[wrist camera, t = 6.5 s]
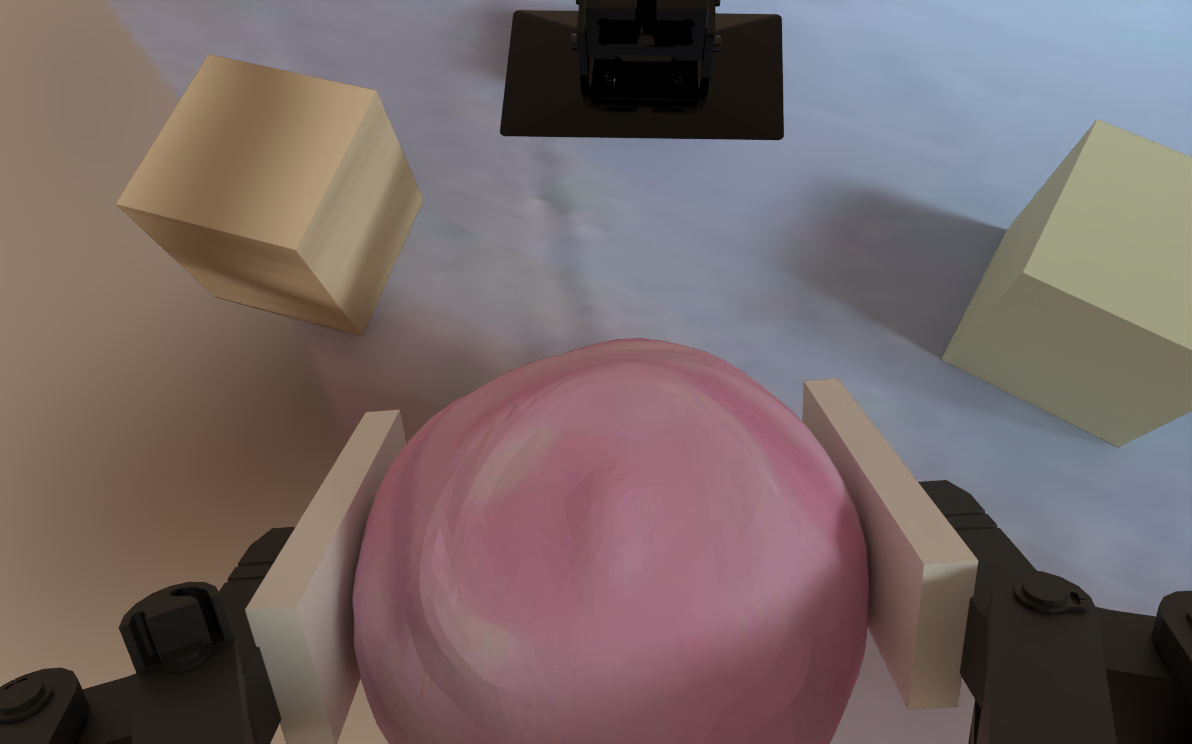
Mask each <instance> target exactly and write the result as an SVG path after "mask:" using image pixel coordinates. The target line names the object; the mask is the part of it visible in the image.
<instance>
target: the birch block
mask: <svg viewBox="0 0 1192 744" xmlns="http://www.w3.org/2000/svg"><path fill="white" fill-rule="evenodd" d="M423 201H424V200H423V197H422V195H421V193H420V190H419V188H418V186H417V183H416V181H415V179H414V176H413V174H412V172H411V169H410V167H409V165H408V162H407V160H406V158H405V155H404V153H403V151H402V148H401V146H400V144H399V141H398V139H397V137H396V134H395V132H394V130H393V127H392V125H391V123H390V120H389V118H388V116H387V113H386V111H385V109H384V106H383V104H382V102H381V99H380V97H379V95H378V92H377V91H376V90H371V89H367V88H362V87H357V86H353V85H348V84H344V83H339V82H334V81H330V80H325V79H321V78H316V77H311V76H307V75H302V74H297V73H293V72H288V71H284V70H279V69H274V68H270V67H265V66H261V65H256V64H251V63H247V62H242V61H238V60H233V59H228V58H224V57H219V56H214V55H210V54H209V55H208V56H207V58H206V59H205V61H204V63H203V64H202V66H201V67H200V69H199V71H198V72H197V74H196V76H195V77H194V79H193V80H192V82H191V84H190V85H189V87H188V88H187V90H186V92H185V93H184V95H183V96H182V98H181V100H180V101H179V103H178V104H177V106H176V108H175V109H174V111H173V112H172V114H171V116H170V117H169V119H168V120H167V122H166V124H165V125H164V127H163V129H162V130H161V132H160V133H159V135H158V137H157V138H156V140H155V142H154V143H153V145H152V146H151V148H150V149H149V151H148V153H147V154H146V156H145V157H144V159H143V161H142V162H141V164H140V165H139V167H138V169H137V170H136V172H135V173H134V175H133V177H132V178H131V180H130V182H129V183H128V185H127V186H126V188H125V190H124V191H123V193H122V195H121V196H120V198H119V199H118V201H117V202H116V205H117V206H118V207H119V208H120V209H121V210H122V211H123V212H125V213H126V214H127V215H128V216H129V217H130V218H131V219H132V220H133V221H134V222H135V223H136V224H137V225H138V226H140V227H141V228H142V229H143V230H144V231H145V232H146V233H147V234H148V235H149V236H150V237H151V238H153V240H155V241H156V242H157V243H158V244H159V245H160V246H161V247H162V248H163V249H164V250H165V251H166V252H167V253H169V254H170V255H171V256H172V257H173V258H174V259H175V260H176V261H177V262H178V263H179V264H180V265H181V266H182V267H184V268H185V269H186V270H187V271H188V272H189V273H190V274H191V275H192V276H193V277H194V278H195V279H197V281H199V282H200V283H201V284H202V285H203V286H204V287H205V288H206V289H207V290H208V291H209V292H210V293H211V294H212V295H213V296H215V297H216V298H219V299H223V300H227V301H230V302H234V303H238V304H241V305H245V306H249V307H253V308H256V309H260V310H264V311H268V312H271V313H275V314H278V315H282V316H286V317H290V318H291V317H293V318H297V319H301V320H304V321H308V322H312V323H315V324H319V325H323V326H327V327H330V328H334V329H338V330H341V331H345V332H349V333H353V334H356V335H360V336H362V335H363V333H364V331H365V329H366V326H367V324H368V322H369V320H370V318H371V315H372V313H373V311H374V309H375V307H376V304H377V302H378V300H379V298H380V296H381V293H382V291H383V289H384V287H385V285H386V282H387V280H388V278H389V276H390V273H391V271H392V269H393V267H394V265H395V262H396V260H397V258H398V256H399V254H400V251H401V249H402V247H403V245H404V243H405V240H406V238H407V236H408V234H409V232H410V229H411V227H412V225H413V223H414V221H415V218H416V216H417V214H418V212H419V209H420V207H421V205H422V203H423Z"/></svg>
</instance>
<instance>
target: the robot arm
mask: <svg viewBox="0 0 1192 744" xmlns="http://www.w3.org/2000/svg"><path fill="white" fill-rule="evenodd" d="M802 422H803V423H804V424H805V425H806V426H807V427H808V428H809V429H810V431H811V432H812V433H813V435H814V436H815V437H816V439H817V440H818V441H819V443H820V444H821V445H822V447H823V448H824V449H825V451H826V452H827V454H828V456H829V457H830V459H831V461H832V463H833V464H834V466H835V468H836V469H837V471H838V473H839V474H840V476H841V478H842V479H843V481H844V484H845V486H846V488H847V490H848V492H849V494H850V497H851V499H852V501H853V503H854V505H855V507H856V510H857V512H858V516H859V520H860V523H861V527H862V531H863V535H864V539H865V542H866V546H867V558H868V574H869V603H868V628H869V630H870V632H871V634H872V636H873V638H874V640H875V642H876V644H877V646H878V648H879V650H880V653H881V655H882V657H883V659H884V661H885V663H886V665H887V667H888V669H889V671H890V673H891V675H892V677H893V679H894V681H895V683H896V685H897V687H898V689H899V692H900V694H901V696H902V698H903V700H904V702H905V704H906V706H907V708H908V710H912V709H927V708H943V707H958V700H959V693H960V686H961V679H962V678H963V680H964V681H965V683H966V685H967V686H968V688H969V690H970V691H971V693H972V695H973V696H974V698H975V704H974V710H973V717H972V723H971V730H970V736H969V743H968V744H1192V591H1178V592H1174V593H1172V594H1169V595H1167V596H1165V597H1163V599H1162V601H1161V603H1160V605H1159V608H1158V612H1157V616H1156V617H1155V616H1148V615H1141V614H1134V613H1127V612H1120V611H1113V610H1108V609H1103V608H1098V607H1095V605H1094V603H1093V601H1092V599H1091V597H1090V596H1089V595H1088V594H1086V593H1085V592H1084V591H1083V590H1082V589H1081V588H1080V587H1079V586H1077V585H1075V584H1073V583H1071V582H1069V581H1067V580H1065V579H1064V578H1062V577H1059V576H1055V575H1052V574H1049V573H1045V572H1042V571H1036V569H1035V568H1034V567H1033V566H1032V565H1031V564H1030V562H1029V561H1028V560H1027V559H1026V558H1025V557H1024V556H1023V554H1022V553H1021V552H1020V551H1019V550H1018V549H1017V547H1016V546H1015V545H1014V544H1013V543H1012V542H1011V541H1010V539H1009V538H1008V537H1007V536H1006V535H1005V534H1004V532H1003V531H1002V530H1001V529H1000V528H997V524H996V523H995V522H994V521H993V520H992V519H991V517H990V516H989V515H988V514H985V510H984V509H983V508H982V507H981V506H980V505H979V504H978V502H977V501H976V500H975V499H974V498H973V497H972V495H971V494H969V493H968V492H966V491H964V490H963V489H961V488H959V487H957V486H956V485H954V484H952V483H951V482H949V481H947V480H940V481H925V482H917V480H916V479H915V478H914V476H913V475H912V474H911V472H910V471H909V470H908V468H907V467H906V466H905V465H904V463H903V462H902V461H901V459H900V458H899V457H898V455H897V454H896V453H895V452H894V450H893V449H892V448H891V446H890V445H889V444H888V442H887V441H886V440H885V439H884V437H883V436H882V435H881V433H880V432H879V431H878V429H877V428H876V427H875V426H874V424H873V423H872V422H871V420H870V419H869V418H868V416H867V415H866V414H865V412H864V411H863V410H862V409H861V407H860V406H859V405H858V403H857V402H856V401H855V399H854V398H853V397H852V396H851V394H850V393H849V392H848V390H847V389H846V388H845V386H844V385H843V384H842V383H841V381H840V380H839V379H838V378H835V379H821V380H807V381H804V386H803V417H802ZM405 445H406V439H405V434H404V429H403V424H402V418H401V413H400V410H388V411H374V412H366V413H365V415H364V416H363V418H362V419H361V421H360V423H359V424H358V426H357V428H356V429H355V431H354V433H353V434H352V436H351V437H350V439H349V441H348V442H347V444H346V446H345V447H344V449H343V451H342V452H341V454H340V455H339V457H338V459H337V461H336V462H335V464H334V465H333V467H332V469H331V470H330V472H329V473H328V475H327V477H326V478H325V480H324V482H323V483H322V485H321V486H320V488H319V490H318V491H317V493H316V495H315V496H314V498H313V500H312V501H311V503H310V504H309V506H308V508H307V509H306V511H305V513H304V514H303V516H302V518H301V519H300V521H299V522H298V524H297V526H296V527H286V528H274V529H271V530H270V531H268V532H267V533H266V534H264V535H263V536H262V537H261V538H259V539H258V540H257V541H255V542H254V543H253V544H252V545H250V547H249V548H248V550H247V551H246V553H245V554H244V556H243V557H242V559H241V560H240V562H239V563H238V567H236V568H235V569H234V570H233V572H232V573H231V575H230V576H229V578H228V582H227V583H224V585H223V586H222V588H221V590H220V591H219V592H218V590H217V588H216V587H215V586H213V585H210V584H208V583H206V582H187V583H182V584H178V585H173V586H169V587H167V588H164V589H162V590H160V591H157V592H155V593H152V594H151V595H149V596H147V597H146V598H144V599H143V600H141V601H140V602H138V603H136V604H135V605H134V606H133V607H132V608H131V609H130V610H129V611H128V612H127V613H126V614H125V615H124V617H123V619H122V621H121V624H120V626H119V629H120V632H121V634H122V637H123V639H124V642H125V645H126V647H127V650H128V652H129V655H130V657H131V660H132V663H133V665H134V668H135V670H136V674H133V675H131V676H128V677H125V678H121V679H118V680H114V681H111V682H107V683H104V684H100V685H97V686H93V687H90V688H86V689H83V690H82V688H81V685H80V683H79V681H78V679H77V677H76V675H75V674H74V672H73V671H70V670H67V669H64V668H51V669H42V670H39V671H36V672H32V673H29V674H26V675H23V676H21V677H18V678H16V679H15V680H12V681H10V682H8V683H6V684H4V685H3V686H1V687H0V744H270V743H271V741H272V738H273V736H274V734H275V732H276V730H277V728H278V725H279V723H280V725H281V728H282V731H283V734H284V737H285V741H286V744H337V742H338V739H339V736H340V734H341V731H342V728H343V725H344V722H345V720H346V717H347V714H348V711H349V709H350V706H351V703H352V700H353V698H354V695H355V692H356V689H357V686H358V683H359V681H360V672H359V668H358V663H357V659H356V654H355V650H354V611H353V602H352V596H353V588H354V580H355V573H356V568H357V564H358V559H359V553H360V547H361V543H362V539H363V535H364V531H365V527H366V523H367V519H368V515H369V513H370V510H371V507H372V505H373V502H374V499H375V496H376V494H377V491H378V489H379V487H380V485H381V483H382V481H383V479H384V477H385V475H386V473H387V471H388V469H389V467H390V465H391V464H392V463H393V461H394V460H395V459H396V457H397V456H398V455H399V453H400V452H401V451H402V449H403V448H404V447H405Z"/></svg>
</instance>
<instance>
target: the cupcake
mask: <svg viewBox="0 0 1192 744" xmlns="http://www.w3.org/2000/svg"><path fill="white" fill-rule="evenodd" d="M352 602H353V611H354V650H355V654H356V659H357V663H358V668H359V672H360V678H361V681H362V683H363V687H364V690H365V693H366V696H367V699H368V702H369V705H370V707H371V710H372V712H373V715H374V718H375V720H376V723H377V725H378V727H379V728H380V730H381V731H382V733H383V735H384V736H385V738H386V740H387V741H388V743H389V744H830V742H831V740H832V738H833V736H834V734H835V732H836V729H837V727H838V725H839V722H840V720H841V718H842V715H843V713H844V711H845V708H846V705H847V702H848V700H849V698H850V696H851V693H852V690H853V687H854V685H855V683H856V680H857V678H858V675H859V672H860V668H861V664H862V660H863V656H864V652H865V645H866V636H867V627H868V603H869V574H868V558H867V546H866V542H865V539H864V535H863V531H862V527H861V523H860V520H859V516H858V512H857V510H856V507H855V505H854V503H853V501H852V499H851V497H850V494H849V492H848V490H847V488H846V486H845V484H844V481H843V479H842V478H841V476H840V474H839V473H838V471H837V469H836V468H835V466H834V464H833V463H832V461H831V459H830V457H829V456H828V454H827V452H826V451H825V449H824V448H823V447H822V445H821V444H820V443H819V441H818V440H817V439H816V437H815V436H814V435H813V433H812V432H811V431H810V429H809V428H808V427H807V426H806V425H805V424H804V423H803V422H802V421H801V420H800V419H799V418H798V417H797V416H796V415H795V414H794V413H793V412H792V411H791V410H790V409H789V408H788V407H787V406H786V405H784V404H783V403H782V402H781V401H780V400H778V399H777V398H776V397H775V396H773V395H772V394H771V393H770V392H769V391H767V390H766V389H765V388H764V387H762V386H761V385H760V384H758V383H757V382H756V381H754V380H753V379H752V378H750V377H749V376H748V375H747V374H745V373H744V372H742V371H740V370H739V369H737V368H736V367H734V366H732V365H731V364H729V363H728V362H726V361H724V360H722V359H720V358H718V357H716V356H713V355H711V354H709V353H707V352H705V351H701V350H698V349H694V348H690V347H687V346H683V345H678V344H674V343H669V342H665V341H659V340H650V339H642V338H636V339H617V340H613V341H608V342H603V343H598V344H594V345H591V346H587V347H584V348H580V349H577V350H574V351H570V352H567V353H564V354H561V355H557V356H552V357H548V358H545V359H541V360H537V361H534V362H531V363H528V364H526V365H523V366H521V367H518V368H516V369H513V370H511V371H508V372H507V373H505V374H503V375H501V376H499V377H497V378H496V379H494V380H492V381H490V382H488V383H486V384H485V385H483V386H481V387H480V388H478V389H477V390H475V391H473V392H471V393H469V394H467V395H465V396H462V397H460V398H458V399H456V400H455V401H453V402H452V403H451V404H449V405H448V406H447V407H445V408H444V409H442V410H441V411H440V412H438V413H437V414H436V415H434V416H433V417H432V418H430V419H429V420H428V421H427V422H426V423H425V424H424V425H423V427H422V428H421V429H420V430H419V431H418V432H417V433H416V434H415V435H414V436H413V437H412V438H411V439H410V440H409V441H408V443H407V444H406V445H405V447H404V448H403V449H402V451H401V452H400V453H399V455H398V456H397V457H396V459H395V460H394V461H393V463H392V464H391V465H390V467H389V469H388V471H387V473H386V475H385V477H384V479H383V481H382V483H381V485H380V487H379V489H378V491H377V494H376V496H375V499H374V502H373V505H372V507H371V510H370V513H369V515H368V519H367V523H366V527H365V531H364V535H363V539H362V543H361V547H360V553H359V559H358V564H357V568H356V573H355V580H354V588H353V596H352Z"/></svg>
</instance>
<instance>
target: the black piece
mask: <svg viewBox="0 0 1192 744" xmlns="http://www.w3.org/2000/svg"><path fill="white" fill-rule="evenodd" d="M576 4H577V5H579V10H578V11H532V10H518V11H516V12H514V14H513V21H512V30H511V39H510V48H509V57H508V65H507V74H506V83H505V92H504V100H503V109H502V118H501V127H500V133H501V135H503V136H529V137H599V138H669V139H739V140H780V139H782V138H783V137H784V116H783V61H782V18H781V16H779V15H777V14H718V13H715V6H720V0H576Z"/></svg>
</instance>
